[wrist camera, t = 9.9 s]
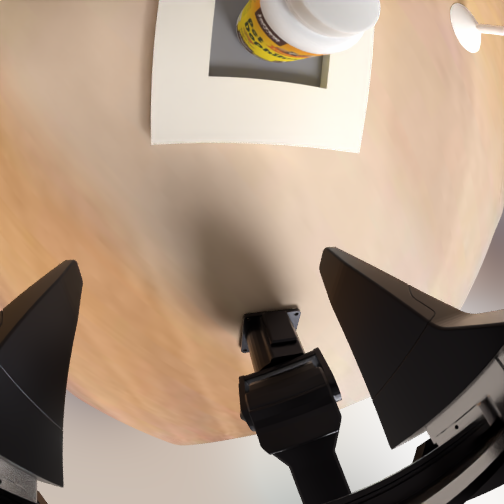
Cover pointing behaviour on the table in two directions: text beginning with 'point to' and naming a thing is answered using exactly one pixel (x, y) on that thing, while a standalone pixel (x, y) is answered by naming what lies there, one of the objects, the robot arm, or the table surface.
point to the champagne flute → (470, 28)
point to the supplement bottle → (303, 27)
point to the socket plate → (250, 85)
